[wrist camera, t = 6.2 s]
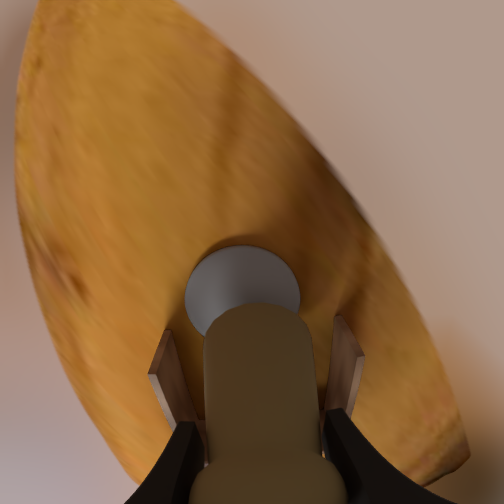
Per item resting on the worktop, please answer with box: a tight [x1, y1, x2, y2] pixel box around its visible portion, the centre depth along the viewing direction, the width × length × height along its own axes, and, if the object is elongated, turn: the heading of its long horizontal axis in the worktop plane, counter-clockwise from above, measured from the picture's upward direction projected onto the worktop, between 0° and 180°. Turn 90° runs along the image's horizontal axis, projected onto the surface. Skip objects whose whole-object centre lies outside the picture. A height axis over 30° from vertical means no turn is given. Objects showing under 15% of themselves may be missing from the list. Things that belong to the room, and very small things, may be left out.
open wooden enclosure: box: [148, 315, 365, 464], centre depth 18 cm, size 10×12×4 cm
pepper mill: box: [188, 302, 349, 504], centre depth 10 cm, size 6×6×11 cm
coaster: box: [185, 245, 300, 337], centre depth 17 cm, size 7×7×1 cm
